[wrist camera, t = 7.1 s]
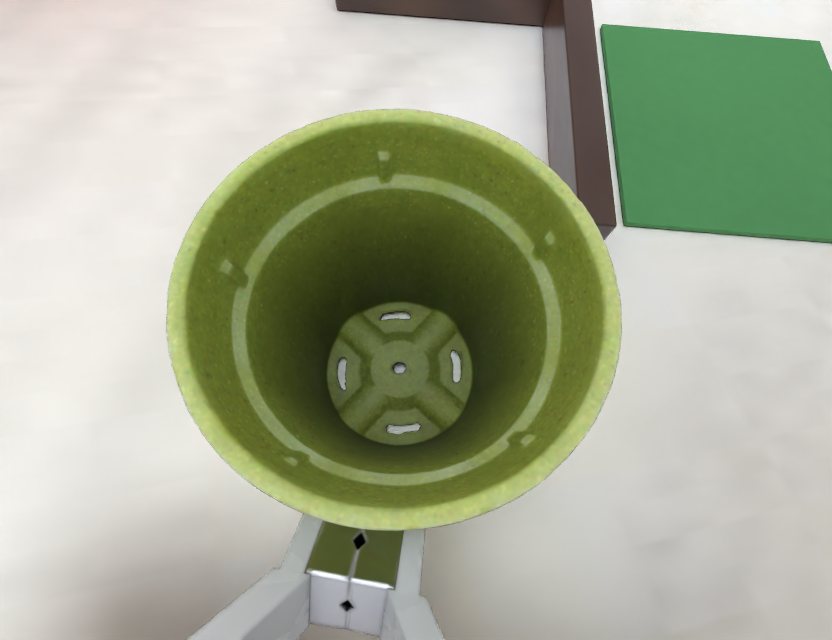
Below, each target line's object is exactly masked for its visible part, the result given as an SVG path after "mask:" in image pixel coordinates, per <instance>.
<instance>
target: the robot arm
mask: <svg viewBox="0 0 832 640" xmlns="http://www.w3.org/2000/svg"><path fill="white" fill-rule="evenodd" d="M424 537H425V529H414V530H402V531H383V530H369V529H359V528H354V527H348V526H342V525H338V524H334V523H331V522H327V521H324V520H320V519H317V518H314V517H312V516H309V515H306V514H304V513H303V516H302V518H301V520H300V523H299V525H298V527H297V530H296V532H295V534H294V537H293V539H292V542H291V544H290V546H289V549H288V551H287V553H286V556H285V558H284V560H283V563H282V565H281V567H280V568H273V569H272V570H270V571H269V572H268V573H267V574H266V575H264V576H263V577H262V578H261V579H259V580H258V581H257V582H256V583H255V584H253V585H252V586H251V587H250V588H249V589H247V590H246V591H245V592H244V593H243V594H241V595H240V596H239V597H238V598H236V599H235V600H234V601H233V602H232V603H230V604H229V605H228V606H227V607H226V608H224V609H223V610H222V611H221V612H219V613H218V614H217V615H216V616H215V617H213V618H212V619H211V620H210V621H209V622H207V623H206V624H205V625H204V626H203V627H201V628H200V629H199V630H198V631H196V632H195V633H194V634H193V635H192V636H190V637H189V638H188V639H187V640H297V639H298V638H299V637H300V635H301V634H302V633H303V632H304V631H305V630H306V628H307V627H308V625H309V623H310V624H316V625H322V626H328V627H334V628H341V629H346V630H350V631H355V632H359V633H364V634H368V635H372V636H377V637H380V640H445V639H444V636H443V634H442V632H441V630H440V627H439V625H438V623H437V621H436V619H435V616H434V614H433V612H432V610H431V608H430V605H429V603H428V601H427V599H426V597H425V596H421V595H419V594H420V582H421V571H422V560H423V549H424Z"/></svg>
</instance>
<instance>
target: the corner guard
mask: <svg viewBox="0 0 832 640" xmlns="http://www.w3.org/2000/svg"><path fill="white" fill-rule="evenodd" d="M336 7H337V9H338V10H347V11H360V12H372V13H385V14H398V15H410V16H423V17H436V18H449V19H461V20H474V21H487V22H499V23H512V24H525V25H538V26H543V38H544V60H545V82H546V103H547V125H548V146H549V167H550V168H551V169H552V170H553V171H554V172H555V173H556V174H557V175H558V176H559V177H560V178H561V179H562V180H563V181H564V182H565V183H566V184H567V185H568V186H569V187H570V189H571V190H572V191H573V193H574V194H575V195H576V197H577V198H578V199H579V201H581V202H582V203H583V205H584V206H585V208H586V209H587V211H588V212H589V214H590V215H591V217H592V218H593V220H594V222H595V224H596V226H597V227H598V229H599V231H600V233H601V236H602V238H603V240H605V239H606V237H607V236H608V235H609V234H610V233H611V232H612V231H613V230H614V228H615V227H616V225H617V224H616V215H615V206H614V197H613V188H612V179H611V171H610V162H609V153H608V144H607V135H606V126H605V117H604V108H603V100H602V91H601V82H600V73H599V64H598V55H597V46H596V37H595V28H594V20H593V11H592V2H591V0H336Z"/></svg>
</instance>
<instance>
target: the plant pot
mask: <svg viewBox="0 0 832 640" xmlns="http://www.w3.org/2000/svg"><path fill="white" fill-rule="evenodd" d="M398 311H402V312H407V313H408V314H410V315H411V319H396V318H395V319H388V320H380V317H381V316H382V314H385V313H389V312H398ZM166 325H167V329H166V331H167V341H168V351H169V355H170V359H171V365H172V368H173V370H174V373H175V376H176V380H177V383H178V386H179V389H180V391H181V394H182V396H183V399H184V402H185V404H186V407H187V409H188V411H189V413H190V415H191V416H192V418H193V420H194V421H195V423H196V425H197V426H198V427H199V429H200V431H201V433H202V434H203V436H204V437H205V438H206V440H207V441H208V442H209V443H210V445H211V446H212V447H213V448H214V450H215V451H216V452H217V453H218V454H219V455H220V457H221V458H222V459H223V460H224V461H226V462H227V463H228V464H229V465H230V466H231V467H232V468H233V469H234V470H235V471H236V472H237V473H238V474H239V475H241V476H242V477H243V478H244V479H245V480H247V481H248V482H249V483H251V484H252V485H253V486H255V487H256V488H257V489H259V490H260V491H262V492H263V493H265V494H267V495H269V496H270V497H272V498H274V499H275V500H277V501H279V502H281V503H283V504H284V505H286V506H288V507H290V508H293V509H295V510H297V511H299V512H301V513H304V514H306V515H309V516H312V517H314V518H317V519H320V520H324V521H327V522H331V523H334V524H338V525H342V526H348V527H354V528H359V529H369V530H383V531H402V530H414V529H426V528H433V527H440V526H445V525H449V524H454V523H458V522H461V521H464V520H468V519H471V518H474V517H477V516H479V515H482V514H484V513H487V512H489V511H492V510H494V509H497V508H499V507H501V506H503V505H505V504H507V503H509V502H511V501H512V500H514V499H516V498H518V497H520V496H522V495H523V494H525V493H526V492H528V491H529V490H531V489H532V488H534V487H535V486H537V485H538V484H540V483H541V482H542V481H543V480H544V479H546V478H547V477H548V476H549V475H550V474H551V473H552V472H553V471H554V470H555V469H556V468H557V467H558V466H559V465H560V464H561V463H562V462H563V461H564V460H565V459H566V458H567V457H568V456H569V455H570V454H571V453H572V452H573V450H574V449H575V448H576V447H577V445H578V444H579V443H580V442H581V441H582V439H583V438H584V437H585V436H586V434H587V432H588V431H589V429H590V428H591V427H592V425H593V424H594V422H595V421H596V419H597V416H598V414H599V412H600V411H601V408H602V406H603V404H604V402H605V399H606V397H607V395H608V393H609V390H610V388H611V385H612V382H613V379H614V376H615V372H616V367H617V363H618V358H619V352H620V343H621V333H622V319H621V301H620V294H619V290H618V286H617V281H616V275H615V272H614V268H613V264H612V261H611V258H610V256H609V253H608V250H607V247H606V244H605V242H604V240H603V238H602V236H601V233H600V231H599V229H598V227H597V226H596V224H595V222H594V220H593V218H592V217H591V215H590V214H589V212H588V211H587V209H586V208H585V206H584V205H583V203H582V202H581V201H579V199H578V198H577V197H576V195H575V194H574V193H573V191H572V190H571V189H570V187H569V186H568V185H567V184H566V183H565V182H564V181H563V180H562V179H561V178H560V177H559V176H558V175H557V174H556V173H555V172H554V171H553V170H552V169H551V168H550V167H548V166H547V165H546V164H545V163H544V162H542V161H541V160H539V159H538V158H537V157H535V156H534V155H533V154H532V153H530V152H529V151H528V150H527V149H525V148H524V147H523V146H521V145H520V144H518V143H517V142H515V141H512V140H510V139H509V138H507V137H505V136H503V135H501V134H500V133H498V132H495V131H493V130H490V129H488V128H486V127H484V126H481V125H478V124H475V123H472V122H469V121H466V120H462V119H459V118H456V117H452V116H448V115H443V114H437V113H433V112H427V111H420V110H413V109H381V110H363V111H357V112H351V113H345V114H341V115H337V116H334V117H331V118H328V119H324V120H321V121H317V122H314V123H311V124H309V125H306V126H304V127H302V128H300V129H297V130H294V131H292V132H290V133H288V134H285V135H284V136H282V137H280V138H279V139H277V140H275V141H274V142H272V143H270V144H269V145H267V146H265V147H263V148H262V149H260V150H258V151H257V152H255V153H254V154H253V155H252V156H250V157H249V158H248V159H246V160H245V161H244V162H242V163H241V164H240V165H239V166H238V167H237V168H236V169H235V170H233V171H232V172H231V173H230V174H229V175H228V176H227V177H226V178H225V179H224V180H223V181H222V183H221V184H220V185H219V186H218V187H217V188H216V189H215V191H214V192H213V193H212V194H211V195H210V196H209V198H208V199H207V200H206V201H205V203H204V204H203V206H202V207H201V209H200V210H199V212H198V213H197V214H196V216H195V218H194V220H193V222H192V223H191V225H190V227H189V229H188V231H187V233H186V235H185V237H184V239H183V242H182V244H181V247H180V249H179V252H178V254H177V257H176V259H175V262H174V266H173V269H172V273H171V276H170V282H169V288H168V300H167V317H166ZM452 350H455V351H456V352H457V353H458V355H459V356H460V359H461V370H462V373H461V378H460V381H459V382H458V383H455V382H454V381H453V380H452V379H453V364H452V359H451V357H450V352H451V351H452ZM342 357H345V358H346V359H347V364H346V374H345V375H346V378H345V379H346V383H345V386H346V390H344V391H343V389H342V388H341V387H340V386H339V382H338V378H337V366H338V362H339V361H340V359H341V358H342ZM397 362H401V363H404V364H405V366H406V369H405V371H404V373H402V374H401V373H399V374H397V373H395V372H394V371H393V365H394V364H395V363H397ZM414 423H419V424H420V425H421V427H420V428H419V430H418V431H416V432H414V431H412V432H405V433H403V434H400V435H398V434H392V433H388V432H387V430H386V426H387V425H388V424H389V425H407V424H414Z"/></svg>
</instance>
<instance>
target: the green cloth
mask: <svg viewBox="0 0 832 640" xmlns="http://www.w3.org/2000/svg"><path fill="white" fill-rule="evenodd" d="M600 31H601V39H602V48H603V56H604V64H605V73H606V81H607V89H608V98H609V106H610V114H611V123H612V131H613V139H614V148H615V156H616V164H617V173H618V181H619V189H620V198H621V206H622V214H623V223H624V226H634V227H646V228H659V229H671V230H683V231H695V232H708V233H720V234H732V235H744V236H757V237H769V238H781V239H793V240H806V241H818V242H830V243H832V71H831V69H830V66H829V64H828V61H827V58H826V56H825V53H824V51H823V48H822V46H821V43H820V41H811V40H798V39H785V38H772V37H760V36H747V35H734V34H721V33H709V32H696V31H683V30H671V29H658V28H645V27H632V26H620V25H607V24H602V26H601V28H600Z"/></svg>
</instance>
